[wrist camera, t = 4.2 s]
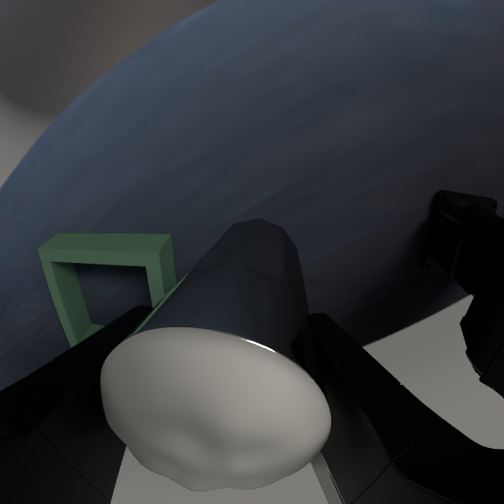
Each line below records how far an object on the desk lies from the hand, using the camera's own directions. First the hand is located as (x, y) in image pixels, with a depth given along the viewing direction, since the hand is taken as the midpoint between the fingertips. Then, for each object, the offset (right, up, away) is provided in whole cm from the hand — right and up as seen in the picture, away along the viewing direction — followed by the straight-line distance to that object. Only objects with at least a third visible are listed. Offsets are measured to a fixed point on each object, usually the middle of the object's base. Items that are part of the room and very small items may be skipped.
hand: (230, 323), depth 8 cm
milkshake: (+1, +2, +4) cm, 5 cm away
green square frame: (-10, -1, +15) cm, 18 cm away
